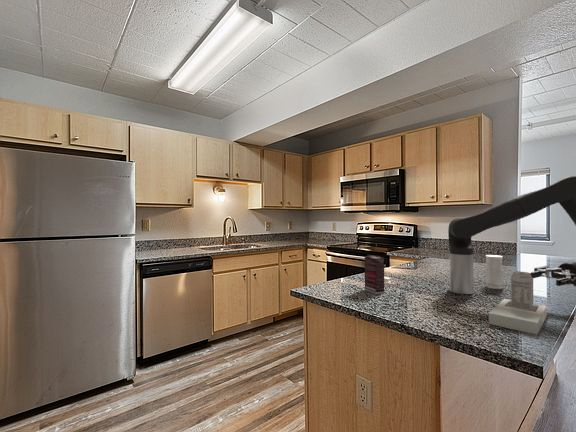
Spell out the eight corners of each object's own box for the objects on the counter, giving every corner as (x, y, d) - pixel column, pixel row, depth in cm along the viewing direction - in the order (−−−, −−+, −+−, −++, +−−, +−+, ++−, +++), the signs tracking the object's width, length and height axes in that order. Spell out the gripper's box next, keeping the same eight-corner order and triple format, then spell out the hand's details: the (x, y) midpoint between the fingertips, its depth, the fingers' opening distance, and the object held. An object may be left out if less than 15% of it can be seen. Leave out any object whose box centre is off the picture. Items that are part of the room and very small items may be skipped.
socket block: (488, 323, 95) (488, 312, 94) (504, 308, 110) (504, 298, 110) (537, 334, 86) (537, 322, 86) (546, 316, 101) (546, 306, 101)
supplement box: (385, 293, 131) (384, 257, 131) (376, 294, 129) (376, 258, 129) (372, 288, 139) (372, 255, 139) (364, 290, 137) (363, 256, 137)
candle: (481, 286, 143) (481, 255, 143) (493, 285, 144) (493, 254, 144) (494, 289, 136) (494, 257, 136) (506, 288, 138) (506, 256, 138)
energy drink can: (536, 317, 100) (536, 273, 100) (528, 320, 97) (528, 275, 97) (515, 312, 105) (515, 270, 105) (507, 315, 102) (507, 272, 102)
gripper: (556, 256, 115) (524, 263, 112) (602, 266, 102) (566, 275, 98) (556, 274, 117) (524, 282, 113) (601, 287, 103) (566, 296, 99)
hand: (544, 279), depth 106 cm, fingers open, 8 cm apart
